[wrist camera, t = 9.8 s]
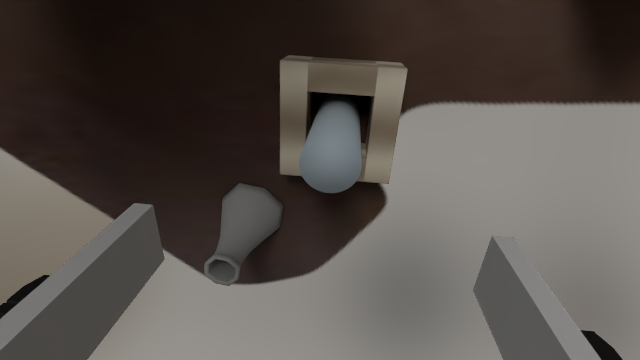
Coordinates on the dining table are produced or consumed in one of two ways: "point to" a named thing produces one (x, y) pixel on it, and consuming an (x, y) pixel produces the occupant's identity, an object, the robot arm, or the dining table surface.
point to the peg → (333, 146)
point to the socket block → (341, 79)
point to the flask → (242, 230)
